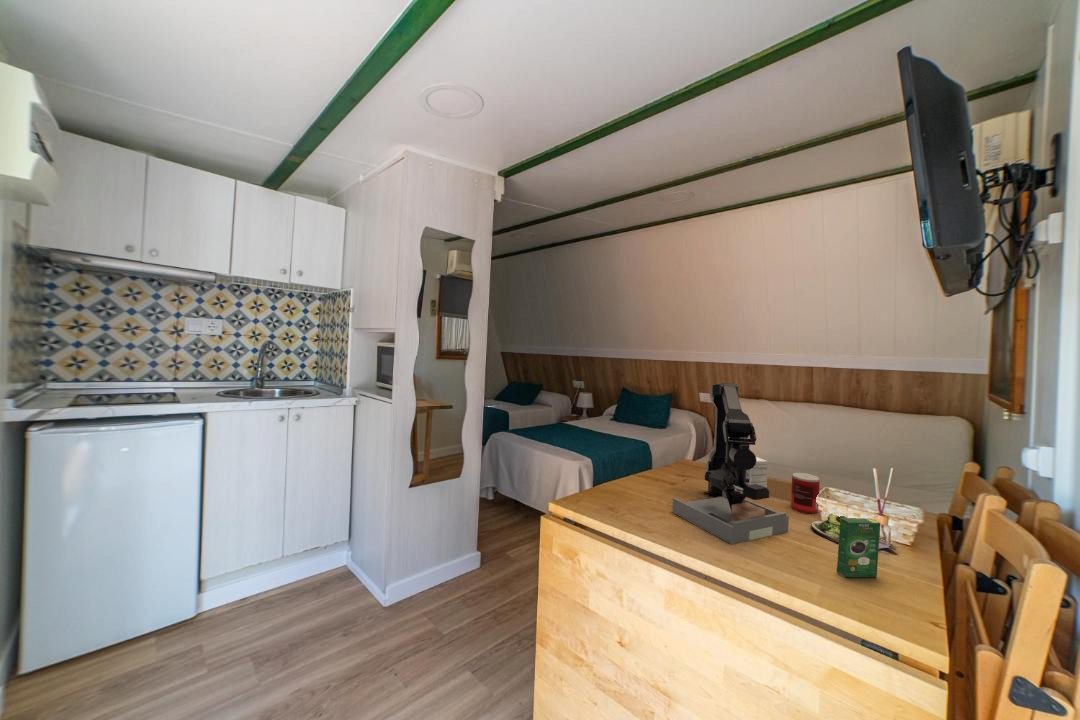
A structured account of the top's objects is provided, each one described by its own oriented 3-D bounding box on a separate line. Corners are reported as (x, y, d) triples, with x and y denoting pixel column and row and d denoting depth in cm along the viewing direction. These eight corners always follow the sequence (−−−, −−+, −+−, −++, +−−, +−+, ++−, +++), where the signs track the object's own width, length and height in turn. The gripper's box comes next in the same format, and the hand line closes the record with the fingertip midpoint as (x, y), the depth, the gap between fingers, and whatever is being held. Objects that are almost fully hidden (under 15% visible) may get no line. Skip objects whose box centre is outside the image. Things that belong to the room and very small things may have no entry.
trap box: (672, 512, 134) (673, 495, 134) (724, 503, 143) (724, 487, 143) (731, 544, 113) (732, 523, 113) (787, 531, 122) (788, 512, 122)
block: (731, 520, 123) (731, 504, 123) (746, 517, 125) (747, 502, 125) (748, 528, 117) (749, 512, 117) (764, 525, 120) (764, 509, 119)
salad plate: (918, 552, 112) (919, 535, 112) (869, 560, 107) (869, 542, 107) (846, 522, 130) (847, 507, 130) (801, 528, 125) (802, 513, 125)
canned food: (810, 505, 143) (811, 473, 143) (823, 514, 135) (825, 480, 135) (786, 504, 144) (787, 471, 144) (798, 513, 136) (799, 479, 136)
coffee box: (868, 571, 101) (871, 517, 100) (878, 578, 98) (881, 522, 97) (835, 571, 100) (838, 516, 100) (845, 578, 97) (848, 522, 97)
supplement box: (735, 489, 158) (736, 455, 157) (753, 488, 159) (754, 455, 159) (748, 496, 151) (750, 461, 150) (767, 495, 152) (768, 460, 152)
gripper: (692, 454, 131) (689, 504, 131) (742, 472, 113) (739, 529, 114) (719, 451, 135) (717, 500, 136) (771, 468, 118) (769, 523, 119)
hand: (733, 512), depth 126 cm, fingers closed
